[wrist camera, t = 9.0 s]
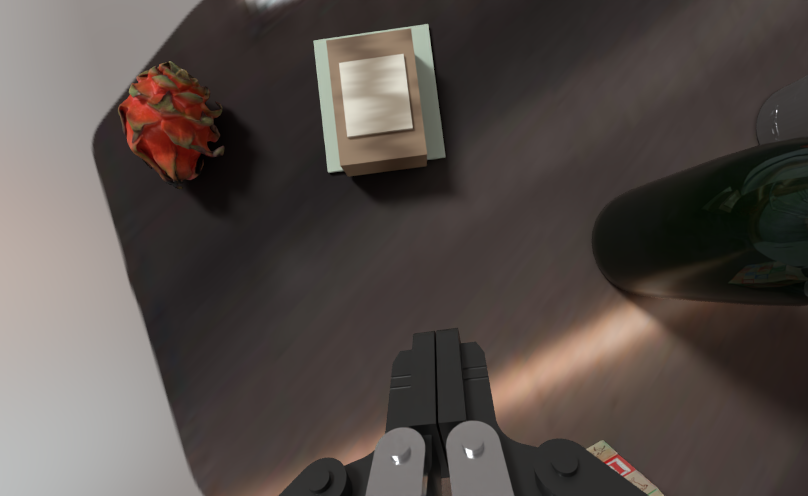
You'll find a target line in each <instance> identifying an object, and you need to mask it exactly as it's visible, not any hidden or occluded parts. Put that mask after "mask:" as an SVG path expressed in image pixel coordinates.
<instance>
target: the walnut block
mask: <svg viewBox="0 0 808 496" xmlns="http://www.w3.org/2000/svg"><path fill="white" fill-rule="evenodd" d="M326 44H327V53H328V62H329V71H330V80H331V89H332V98H333V107H334V116H335V124H336V133H337V142H338V151H339V160H340V166H341V168H342V169H343V170H344V172H345V173H346V174H347V176H348V177H349V176H356V175H364V174H372V173H379V172H387V171H394V170H402V169H409V168H417V167H425V166H427V149H426V141H425V133H424V125H423V118H422V110H421V102H420V94H419V86H418V79H417V71H416V63H415V55H414V47H413V40H412V32H411V28H409V29H402V30H395V31H388V32H382V33H375V34H368V35H361V36H354V37H347V38H340V39H333V40H326Z"/></svg>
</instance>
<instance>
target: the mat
mask: <svg viewBox="0 0 808 496" xmlns="http://www.w3.org/2000/svg"><path fill="white" fill-rule="evenodd" d="M409 28H411V32H412V40H413V47H414V55H415V63H416V71H417V79H418V86H419V94H420V102H421V110H422V118H423V125H424V133H425V141H426V149H427V160H431V159H439V158H445V149H444V142H443V134H442V126H441V119H440V111H439V103H438V96H437V88H436V81H435V73H434V65H433V58H432V50H431V43H430V35H429V27H428V24H425V25H418V26H412V27H405V28H398V29H391V30H384V31H377V32H370V33H363V34H356V35H350V36H343V37H336V38H329V39H322V40H315V41H314V49H315V58H316V68H317V77H318V86H319V95H320V104H321V113H322V122H323V131H324V140H325V149H326V158H327V167H328V173H333V172H341V171H344V170H343V169H342V168H341V166H340V160H339V151H338V142H337V133H336V124H335V116H334V107H333V98H332V89H331V80H330V71H329V62H328V53H327V44H326V40H333V39H340V38H347V37H354V36H361V35H368V34H375V33H382V32H388V31H395V30H402V29H409Z"/></svg>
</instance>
